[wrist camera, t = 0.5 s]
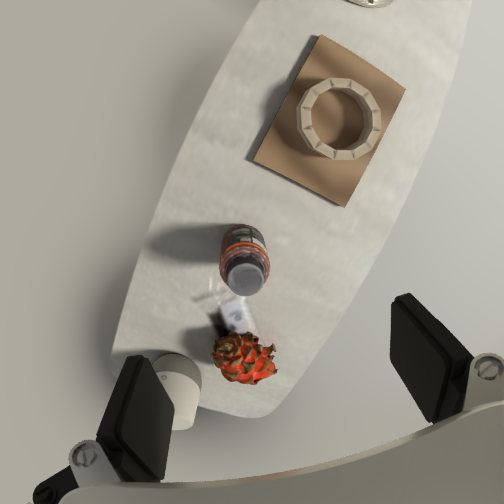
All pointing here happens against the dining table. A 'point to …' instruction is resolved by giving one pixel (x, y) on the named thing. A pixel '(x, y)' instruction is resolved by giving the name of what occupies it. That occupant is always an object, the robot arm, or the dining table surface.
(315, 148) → the socket board
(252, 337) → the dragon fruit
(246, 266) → the supplement bottle
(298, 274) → the dining table surface
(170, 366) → the smart speaker
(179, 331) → the dining table surface
